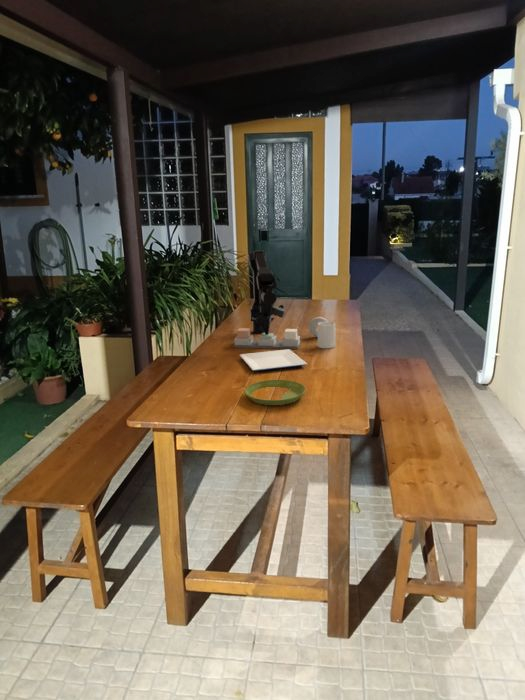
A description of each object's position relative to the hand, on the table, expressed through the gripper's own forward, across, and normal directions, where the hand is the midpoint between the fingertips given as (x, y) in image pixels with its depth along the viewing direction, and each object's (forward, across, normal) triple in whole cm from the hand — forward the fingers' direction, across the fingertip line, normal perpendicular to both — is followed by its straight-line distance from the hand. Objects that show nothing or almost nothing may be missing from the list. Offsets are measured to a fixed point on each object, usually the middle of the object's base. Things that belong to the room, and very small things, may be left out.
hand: (267, 334), depth 250 cm
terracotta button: (+2, 0, +11) cm, 11 cm away
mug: (+5, +3, -27) cm, 28 cm away
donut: (+5, +16, -22) cm, 28 cm away
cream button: (+2, 0, -11) cm, 11 cm away
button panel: (+5, 0, 0) cm, 5 cm away
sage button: (+4, 0, 0) cm, 4 cm away
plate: (+6, -26, -7) cm, 28 cm away
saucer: (+6, -64, -15) cm, 66 cm away
